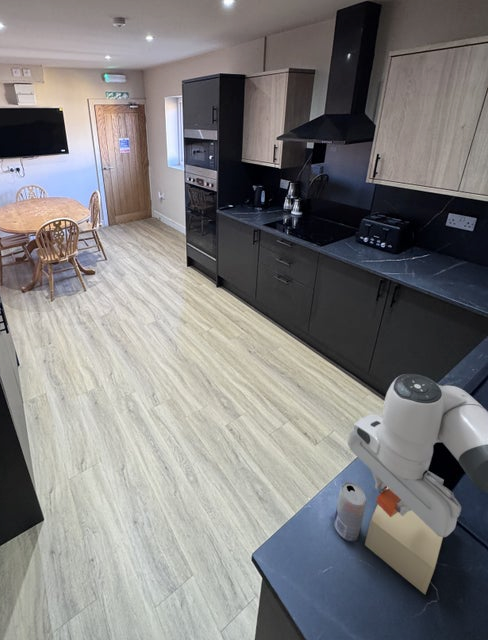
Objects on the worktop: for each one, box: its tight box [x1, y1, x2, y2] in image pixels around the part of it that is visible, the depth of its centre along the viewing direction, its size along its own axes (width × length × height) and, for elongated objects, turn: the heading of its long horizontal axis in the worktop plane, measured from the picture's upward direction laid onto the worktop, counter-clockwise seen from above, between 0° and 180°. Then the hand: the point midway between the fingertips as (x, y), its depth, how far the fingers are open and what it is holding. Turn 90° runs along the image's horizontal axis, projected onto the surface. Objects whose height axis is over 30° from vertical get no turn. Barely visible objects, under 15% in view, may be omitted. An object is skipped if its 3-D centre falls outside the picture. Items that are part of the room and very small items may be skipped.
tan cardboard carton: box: [364, 486, 444, 595], centre depth 72 cm, size 13×12×9 cm
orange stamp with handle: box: [375, 488, 401, 517], centre depth 68 cm, size 8×3×2 cm, turn 115°
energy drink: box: [333, 481, 367, 542], centre depth 75 cm, size 5×5×12 cm
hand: (390, 500), depth 67 cm, fingers closed on orange stamp with handle, 3 cm apart
